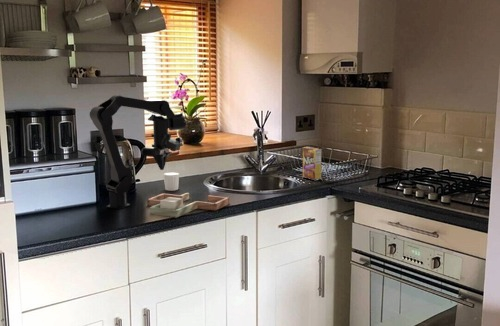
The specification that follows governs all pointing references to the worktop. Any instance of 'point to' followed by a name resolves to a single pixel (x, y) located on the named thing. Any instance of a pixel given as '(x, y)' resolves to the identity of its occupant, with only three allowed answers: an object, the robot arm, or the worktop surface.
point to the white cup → (171, 181)
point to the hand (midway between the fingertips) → (161, 169)
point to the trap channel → (215, 205)
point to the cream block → (171, 203)
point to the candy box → (311, 162)
